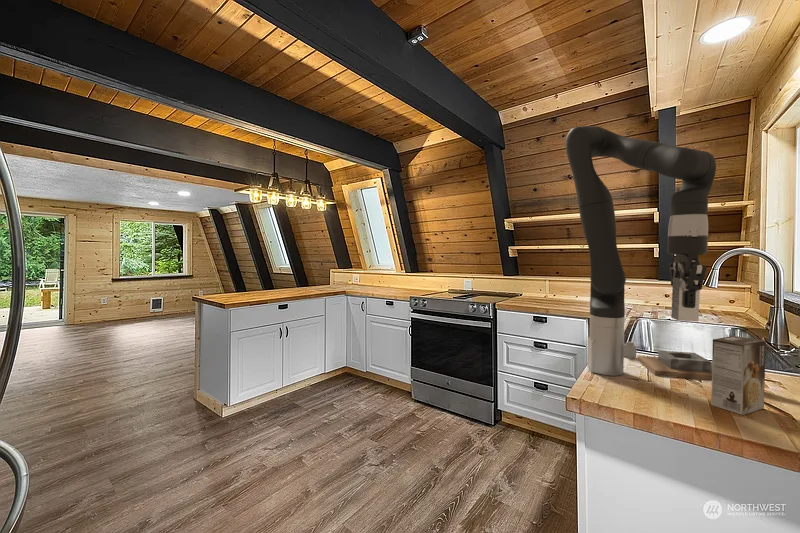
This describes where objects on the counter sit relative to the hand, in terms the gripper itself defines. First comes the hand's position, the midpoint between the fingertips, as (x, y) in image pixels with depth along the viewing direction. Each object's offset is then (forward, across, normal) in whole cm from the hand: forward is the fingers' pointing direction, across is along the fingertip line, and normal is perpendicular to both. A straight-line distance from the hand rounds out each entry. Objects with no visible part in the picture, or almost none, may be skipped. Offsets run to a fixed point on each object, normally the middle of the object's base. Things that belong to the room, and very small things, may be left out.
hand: (684, 305), depth 88 cm
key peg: (+3, 0, 0) cm, 3 cm away
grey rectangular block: (+24, -41, -2) cm, 48 cm away
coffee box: (+24, -1, +12) cm, 26 cm away
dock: (+24, -29, +11) cm, 39 cm away
